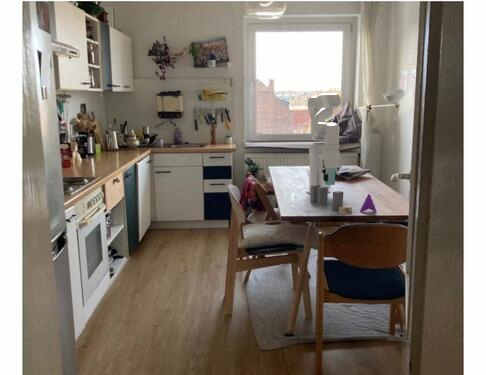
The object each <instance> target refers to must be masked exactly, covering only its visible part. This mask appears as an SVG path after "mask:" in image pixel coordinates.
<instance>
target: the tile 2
mask: <svg viewBox="0 0 486 375" xmlns="http://www.w3.org/2000/svg"><path fill="white" fill-rule="evenodd" d="M328 194H329V189H328V187H318V198H317V203H316V206H319V205H322V206H327V205H328Z"/></svg>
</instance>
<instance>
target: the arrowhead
mask: <svg viewBox="0 0 486 375" xmlns="http://www.w3.org/2000/svg"><path fill="white" fill-rule="evenodd" d="M367 210H371V211H373V212H375V213H377V212H378V211H377V209H376V206H375V203H374V200H373V198H372V195H371V194H370V193H367V196H366V198H365V199H364V201H363V204H362V206H361V208H360V210H359V212H360V213H363V212H366V211H367Z"/></svg>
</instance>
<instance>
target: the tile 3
mask: <svg viewBox="0 0 486 375" xmlns="http://www.w3.org/2000/svg"><path fill="white" fill-rule="evenodd" d="M331 203H332V206H331V210H332V211H334V212H337V211H338V210H339V207H343V206H344V191H342V190H336V191H332V202H331ZM338 212H339V211H338Z"/></svg>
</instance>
